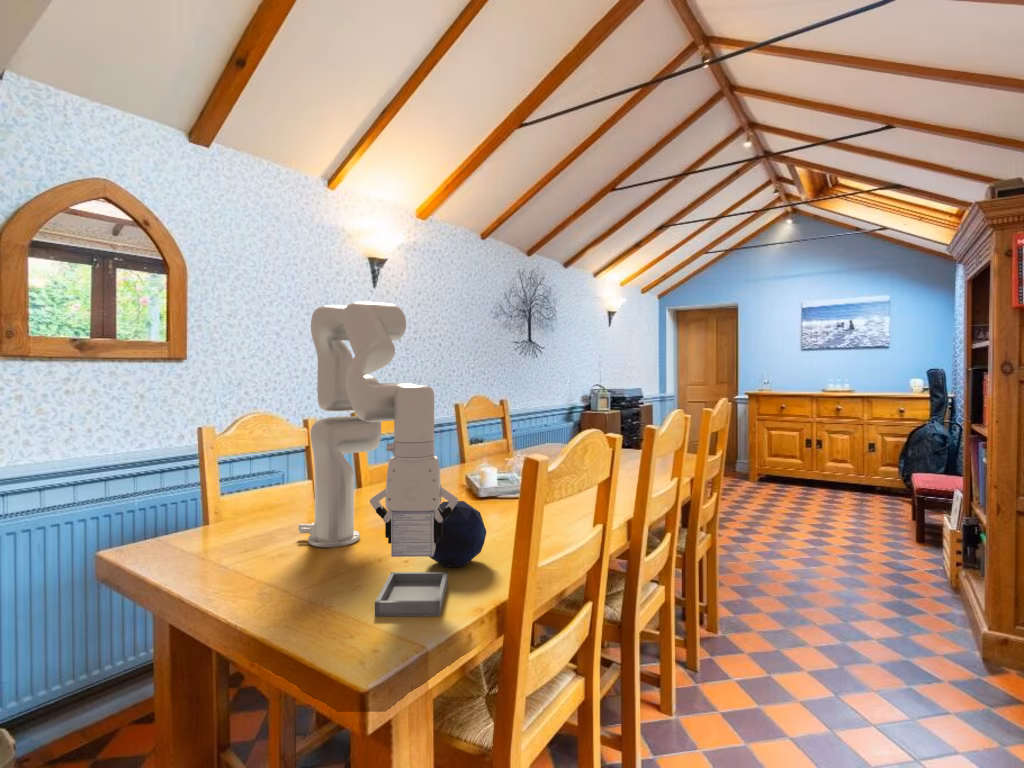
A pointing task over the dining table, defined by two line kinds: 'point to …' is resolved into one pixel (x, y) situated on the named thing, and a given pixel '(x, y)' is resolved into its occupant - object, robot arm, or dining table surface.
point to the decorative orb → (460, 536)
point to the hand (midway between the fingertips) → (414, 541)
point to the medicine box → (412, 534)
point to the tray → (412, 594)
